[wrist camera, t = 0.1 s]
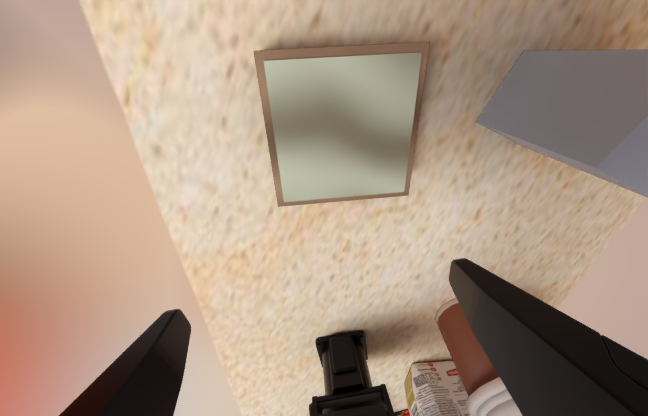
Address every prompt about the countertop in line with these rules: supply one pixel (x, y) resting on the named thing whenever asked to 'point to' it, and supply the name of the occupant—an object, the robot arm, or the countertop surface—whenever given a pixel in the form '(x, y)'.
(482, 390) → the coffee cup
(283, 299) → the countertop surface
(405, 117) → the walnut base block
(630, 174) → the slate brick
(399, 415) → the race car
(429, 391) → the juice carton
